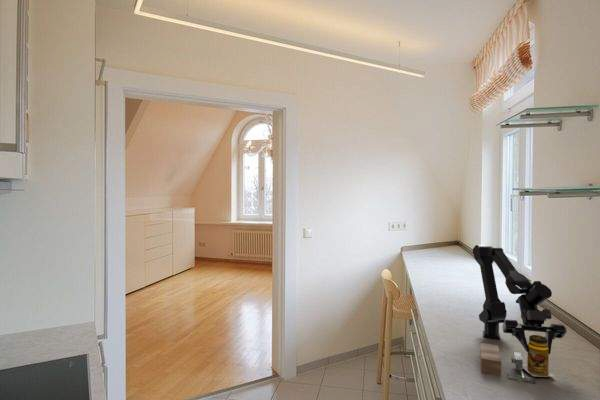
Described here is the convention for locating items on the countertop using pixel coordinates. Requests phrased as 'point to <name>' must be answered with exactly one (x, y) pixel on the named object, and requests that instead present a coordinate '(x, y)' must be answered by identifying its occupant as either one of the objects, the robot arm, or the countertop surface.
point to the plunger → (517, 362)
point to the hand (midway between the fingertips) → (538, 352)
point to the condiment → (538, 357)
